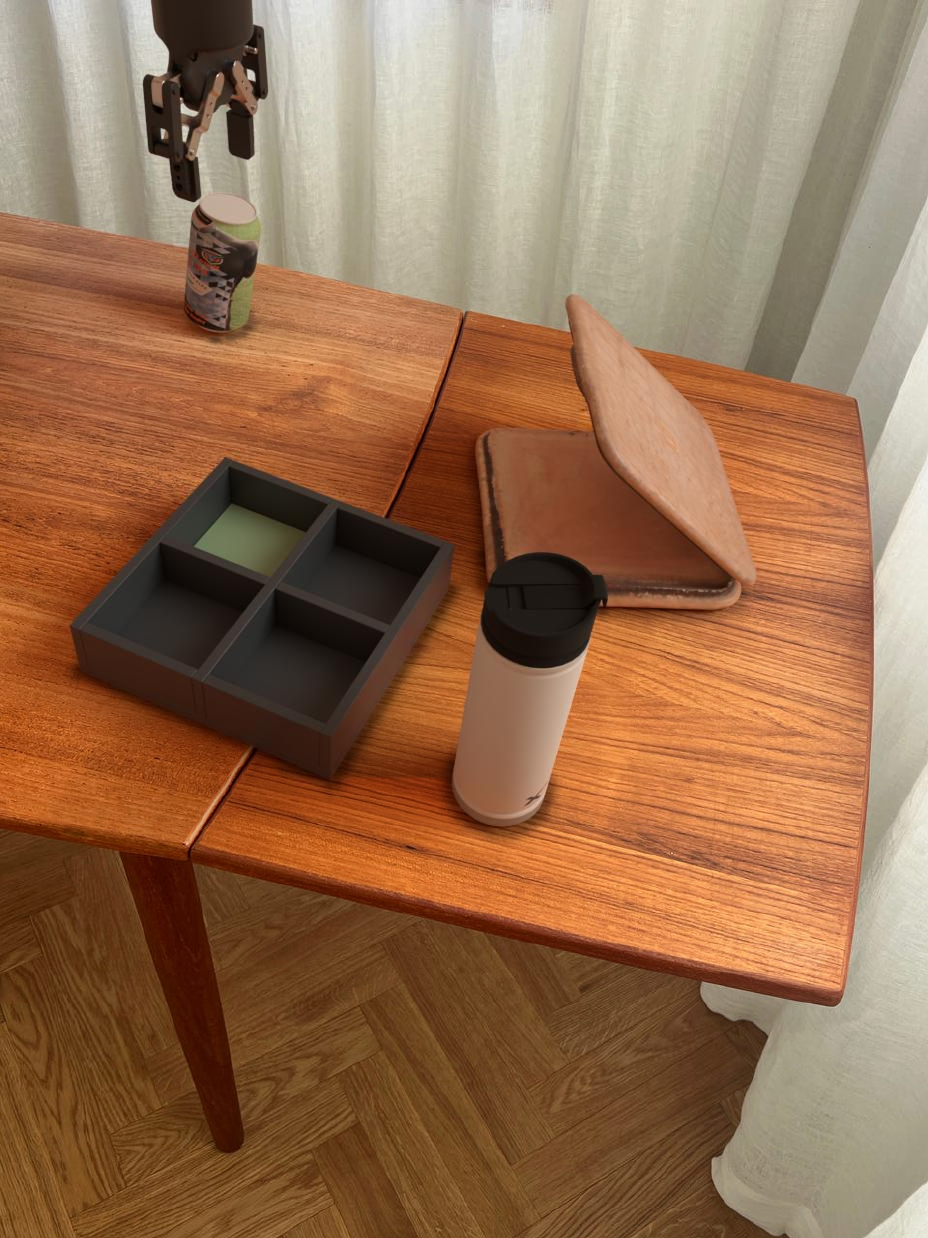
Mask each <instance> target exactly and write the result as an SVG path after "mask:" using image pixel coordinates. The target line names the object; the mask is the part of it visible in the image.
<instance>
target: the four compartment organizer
mask: <svg viewBox="0 0 928 1238" xmlns="http://www.w3.org/2000/svg"><path fill="white" fill-rule="evenodd" d="M455 548H456V547H455V543H452V542H449V541H447V540H444V539H442V538H439V537H436V536H433V535H431V534H428V533H426V532H423V531H421V530H418V529H415V528H412V527H410V526H407V525H405V524H402V523H399V522H397V521H395V520H391V519H389V518H386V517H384V516H381V515H378V514H376V513H373V512H370V511H368V510H366V509H362V508H360V507H358V506H355V505H352V504H349V503H347V502H344V501H341V500H338V499H336V498H333V497H331V496H329V495H326V494H323V493H321V492H319V491H316V490H313V489H311V488H308V487H305V486H303V485H299V484H297V483H294V482H292V481H289V480H287V479H284V478H281V477H279V476H276V475H274V474H272V473H268V472H266V471H264V470H260V469H258V468H255V467H252V466H250V465H248V464H245V463H242V462H239V461H237V460H234V459H232V458H229V457H226V456H224V457H223V459H222V460H221V461H220V462H219V463H218V464H217V465H216V466H215V467H214V468H213V470H212V471H211V472H210V473H209V474H208V475H207V476H206V477H205V478H204V479H203V480H202V481H201V482H200V483H199V485H198V486H197V487H196V488H195V489H194V490H193V491H191V493H190V494H189V495H188V496H187V498H185V500H184V501H183V502H182V503H181V504H180V505H179V506H178V508H176V509H175V510H174V511H173V513H172V514H171V515H170V516H169V517H168V518H167V519H166V520H165V521H164V522H163V523H162V525H160V527H158V529H157V530H156V531H155V532H154V533H153V534H152V535H151V536H150V538H149V539H148V540H146V542H145V543H144V544H143V545H142V546H141V547H140V548H139V550H137V552H136V553H135V554H134V555H133V556H132V557H131V558H130V559H129V560H128V561H127V562H126V563H125V564H124V566H123V567H122V568H121V569H119V571H118V572H117V573H116V574H115V575H114V577H112V579H111V580H110V581H109V582H107V584H106V585H105V586H104V587H103V588H102V589H101V590H100V591H99V592H98V594H96V596H95V597H94V598H93V599H92V600H91V601H90V603H88V605H86V607H85V608H83V610H82V611H81V612H80V613H79V614H78V615H77V616H76V618H75V619H74V620H72V622H71V623H70V624H69V630H70V635H71V638H72V643H73V645H74V650H75V654H76V658H77V662H78V665H79V669H80V672H81V673H83V674H85V675H87V676H89V677H92V678H94V679H96V680H99V681H100V682H102V683H106V684H107V685H110V686H113V687H115V688H117V689H119V690H121V691H124V692H127V693H129V694H131V695H133V696H135V697H137V698H140V699H142V700H144V701H147V702H149V703H151V704H154V705H156V706H158V707H161V708H162V709H165V710H167V711H170V712H172V713H174V714H176V715H179V716H181V717H184V718H186V719H188V720H190V721H193V722H195V723H197V724H199V725H202V726H204V727H207V728H209V729H211V730H213V731H215V732H218V733H220V734H223V735H225V736H227V737H230V738H232V739H234V740H236V741H239V742H241V743H243V744H245V745H248V746H250V747H252V748H254V749H257V750H259V751H262V752H264V753H266V754H269V755H271V756H273V757H275V758H278V759H279V760H283V761H285V762H288V763H289V764H292V765H294V766H296V767H298V768H300V769H303V770H305V771H307V772H310V773H312V774H314V775H317V776H319V777H321V778H323V779H326V780H328V781H331V780H332V778H333V777H334V775H335V774H336V772H337V770H338V769H339V767H340V765H341V764H342V762H343V760H344V759H345V757H346V756H347V754H348V753H349V751H350V750H351V748H352V746H353V745H354V743H355V741H356V740H357V738H358V736H359V735H360V734H361V732H362V730H363V728H364V727H365V725H366V724H367V722H368V720H369V719H370V717H371V715H372V714H373V712H374V710H375V709H376V708H377V706H378V704H379V703H380V701H381V699H382V698H383V696H384V695H385V693H386V691H387V690H388V688H389V687H390V685H391V683H392V682H393V680H394V678H395V677H396V675H397V674H398V672H399V670H400V669H401V667H402V666H403V664H404V662H405V661H406V659H407V658H408V656H409V655H410V653H411V651H412V649H413V648H414V646H415V645H416V643H417V642H418V640H419V638H420V637H421V635H422V634H423V632H424V630H425V629H426V627H427V625H428V624H429V623H430V621H431V619H432V617H433V616H434V614H435V613H436V611H437V609H438V608H439V606H440V604H442V601H443V600H444V598H445V596H446V595H447V593H448V592H449V590H450V583H451V582H450V581H451V575H452V569H453V562H454V553H455Z"/></svg>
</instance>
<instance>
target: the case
mask: <svg viewBox="0 0 928 1238" xmlns="http://www.w3.org/2000/svg"><path fill="white" fill-rule="evenodd" d="M564 301H565V302H564V303H565V311H566V315H567V320H568V321H567V322H568V326H569V332H570V335H571V341H572V345H571V347H570V349H569V350H570V353H569V355H570V361H571V367H572V371H573V375H574V379H575V382H576V385H577V388H578V390H579V392H580V394H581V395H582V397H583V398H584V402H585V403H586V405H587V408H588V414H589V419H590V422H591V426H592V427H591V428H592V430H574V429H550V428H549V429H543V428H527V427H525V428H523V427H495V428H494V427H493V428H490V429H488V430H485V431H484V432H482V433H481V434H480V435H479V436H478V438H477V440H476V441H475V447H474V455H475V456H474V457H475V465H476V473H477V482H478V488H479V498H480V506H481V518H482V519H481V520H482V532H483V542H484V559H485V560H484V561H485V568H486V569H485V574H486V579H487V583H488V584H489V582H490V579H491V576H492V574H493V572H494V571H495V570H496V569H497V568H498V567H499V566H500V565H502V564H503V563H505V562H506V561H508V560H510V559H512V558H514V557H516V556H520V555H523V554H527V553H535V552H549V553H556V554H561V555H564V556H567V557H570V558H572V559H574V560H576V561H578V562H580V563H581V564H582V565H584V566H585V567H586V568H587V569H588V570H589V571H590V572H591V573H592V574H593V575H602V576H603V577H604V580H605V583H606V587H607V593H608V601H607V605H606V607H612V608H613V607H614V608H615V607H619V608H649V609H652V608H653V609H675V610H704V611H711V610H712V611H714V610H715V611H716V610H722V609H727V608H730V607H731V606H733V605H735V604H736V603H737V602H738V600H739V599H740V597H741V594H742V585H743V586H746V587H750V586H753V585H754V584H755V583H756V582H757V569H756V566H755V561H754V558H753V555H752V552H751V548H750V545H749V542H748V540H747V537H746V534H745V530H744V528H743V524H742V521H741V518H740V514H739V511H738V509H737V506H736V502H735V499H734V495H733V492H732V489H731V485H730V482H729V478H728V474H727V473H726V469H725V466H724V462H723V460H722V459H723V458H722V455H721V453H720V449H719V446H718V443H717V440H716V438H715V435H714V433H713V430H712V428H711V427H710V425H709V424H708V422H707V421H706V419H705V417H704V416H703V415H702V413H700V412H699V410H698V409H697V408H696V407H695V406H694V405H693V404H692V403H691V402H690V401H689V400H688V399H686V397H684V396H683V394H681V392H680V391H678V390H677V388H676V387H674V386H673V384H671V382H670V381H668V379H666V378H665V377H664V375H662V374H661V373H660V372H659V370H658V369H656V367H654V366H653V365H652V363H650V362H649V361H648V360H647V358H645V357H644V355H643V354H642V353H640V352H639V350H637V349H636V348H635V347H634V346H633V345H632V344H631V343H630V342H629V341H628V340H627V339H626V338H625V337H624V336H623V334H621V333H620V332H619V331H618V330H617V329H616V328H615V327H614V326H613V325H612V324H611V323H610V322H609V321H608V320H606V318H605V317H603V316H602V315H601V313H599V311H598V310H596V309H595V308H594V307H593V306H592V305H591V304H590V303H589V302H588V301H587V300H585V299H584V298H583V297H582V296H580V295H579V294H575V293H574V294H570V295H568V296H567V297H566V299H565V300H564ZM599 607H603V603H602V600H601V603H600V605H599Z"/></svg>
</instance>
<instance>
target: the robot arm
mask: <svg viewBox="0 0 928 1238" xmlns="http://www.w3.org/2000/svg"><path fill="white" fill-rule="evenodd" d="M150 7H151V14H152V16H151V17H152V23H153V25H152V26H153V29H154V32H155V34H156V36H157V37H158V38H159V40H160V41H162V43H163V44H164V46H165V47H166V48H167V51H168V62H167V69H166V72H165V73H163V74H162V75H160V76H157V75H153V74H149V73H146V74H145V75H144V77H143V79H142V92H143V93H142V94H143V105H144V115H145V117H144V118H145V127H146V139H147V140H146V141H147V150H148V152H149V154H151V155H153V156H158V157H161V158H164V159H167V160H168V163H169V171H170V180H171V189H172V191H173V194H174V195H175V196H176V197H177V198H178V199H181V200H184V201H187V202H190V203H196V202H198V201H199V200H201V198H202V188H201V187H202V186H201V176H200V175H201V174H200V165H199V164H200V163H199V157H198V156H197V153H198V150H199V146H200V142H201V139H202V138H201V137H202V135H203V134H204V133H207V132H208V131H209V130H210V127H211V123H212V119H213V114H215V113H216V112H217V111H218V110H219V108H220V107H221V106H224V105H225V107H226V108H228V110H227V111H226V112H225V116H226V133H227V144H228V145H227V147H228V152H229V154H230V155H231V156H233V157H236V158H239V159H242V160H245V161H249V160H250V159H252V158H253V157H254V156H255V153H256V152H255V151H256V150H255V149H256V148H255V123H254V116H255V115H256V114H257V112H258V109H259V107H258V106H259V103H258V102H259V100H263V101H264V100H266V99H267V97H268V95H269V84H268V83H269V82H268V66H267V52H266V39H265V37H266V36H265V29H264V26H261V25H257V24H254V13H253V12H254V7H253V0H150ZM248 71H252V72H253V73H254V80H252V79H249V76H248ZM182 104H183V105H184V106H185V107H186V108H187V109H188V110H190V111H192V112H193V111H194V112H197V114H195V115H190V114H186V113H182V106H181V105H182ZM183 127H186V128H188V131H187V135H186V140H185V141H184V140H183V139H184V137H183ZM162 130H164V135H163V138H162Z"/></svg>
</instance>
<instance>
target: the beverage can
mask: <svg viewBox="0 0 928 1238" xmlns="http://www.w3.org/2000/svg"><path fill="white" fill-rule="evenodd" d="M257 214H258V213H257V208H256V207H255V205H254V204H253V203H252V202H250V201H249V200H248V199H246V198H245V197H242V196H240V195H238V194H235V193H230V192H222V191H221V192H220V191H219V192H211V193H207V194H205V195H203V196H201V198H200V199H199V204H198V205H196V206H195V208H194V209H193V211H192V213H191V218H190V230H189V242H188V253H187V263H186V264H187V265H186V273H185V274H186V276H185V286H184V287H185V288H184V296H183V297H184V298H183V311H184V313H185V315H186V317H187V318H188V319H189V320H190V321H191V322H192V323H194V324H195V325H197V326H198V327H200V328H202V329H203V330H206V331H209V332H214V333H229V332H232V331H236V330H239V329H241V328H242V327H244V326H245V325H246V324H248V321H249V319H250V312H251V306H252V298H253V292H254V285H255V277H256V269H257V262H258V255H259V247H260V241H261V233H262V225H261V224H262V223H261V220H260V219H259V217H258V215H257Z"/></svg>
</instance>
